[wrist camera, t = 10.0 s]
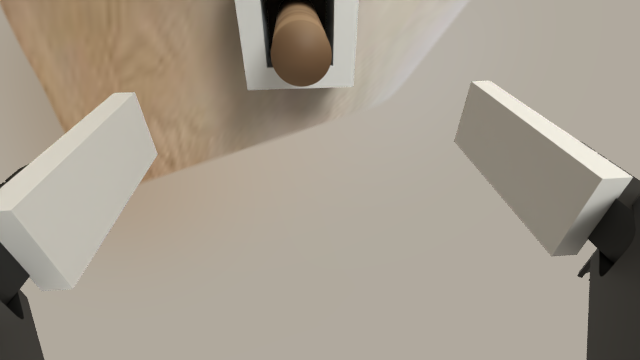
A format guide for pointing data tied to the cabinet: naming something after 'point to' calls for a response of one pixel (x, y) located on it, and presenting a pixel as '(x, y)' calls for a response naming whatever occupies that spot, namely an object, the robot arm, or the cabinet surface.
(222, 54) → the cabinet surface
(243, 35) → the socket block
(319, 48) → the walnut dowel
